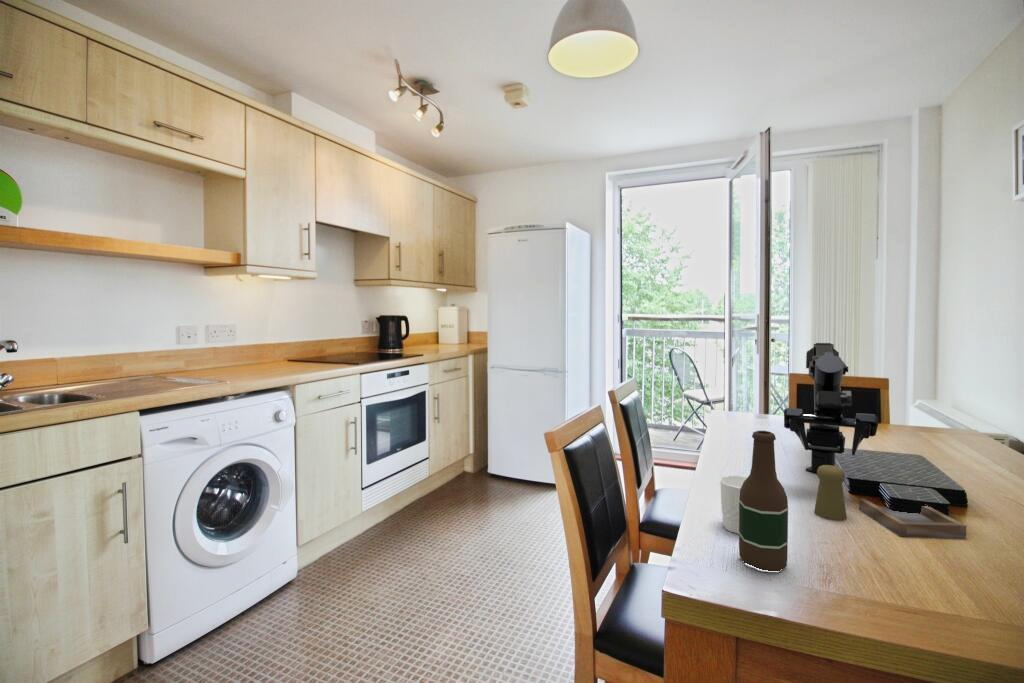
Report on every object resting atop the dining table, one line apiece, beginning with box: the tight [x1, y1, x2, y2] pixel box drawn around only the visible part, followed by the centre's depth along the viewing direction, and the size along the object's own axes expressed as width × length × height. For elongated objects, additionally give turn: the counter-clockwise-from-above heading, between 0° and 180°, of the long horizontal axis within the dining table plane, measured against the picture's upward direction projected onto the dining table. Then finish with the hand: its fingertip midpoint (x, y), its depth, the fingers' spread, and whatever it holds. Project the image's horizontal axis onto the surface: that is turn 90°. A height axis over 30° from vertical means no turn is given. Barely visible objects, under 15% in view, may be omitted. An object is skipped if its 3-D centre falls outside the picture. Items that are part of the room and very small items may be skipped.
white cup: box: [719, 475, 748, 535], centre depth 99 cm, size 8×8×10 cm
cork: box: [813, 465, 848, 522], centre depth 105 cm, size 6×6×11 cm
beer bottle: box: [738, 430, 789, 572], centre depth 85 cm, size 8×8×24 cm
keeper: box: [858, 498, 967, 540], centre depth 100 cm, size 13×12×3 cm
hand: (829, 451), depth 110 cm, fingers open, 9 cm apart
